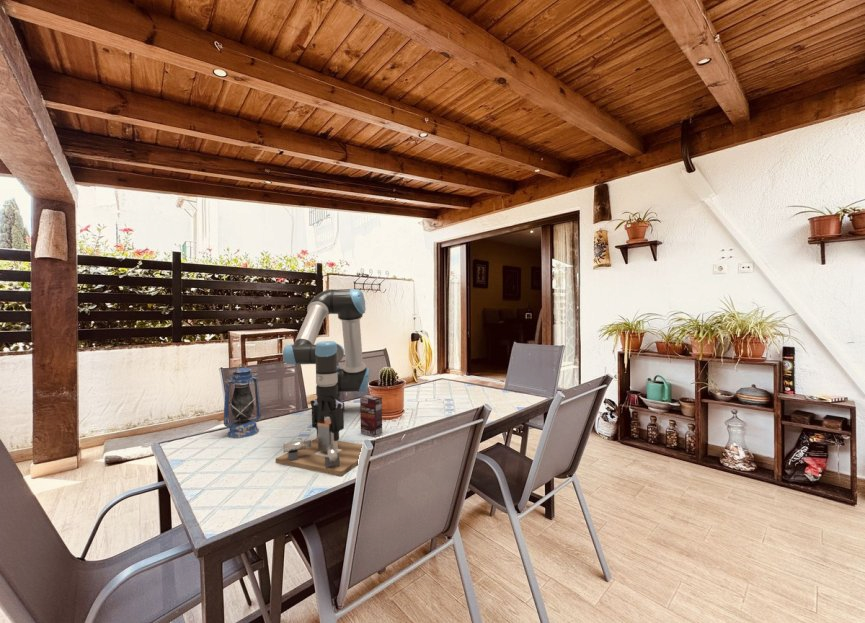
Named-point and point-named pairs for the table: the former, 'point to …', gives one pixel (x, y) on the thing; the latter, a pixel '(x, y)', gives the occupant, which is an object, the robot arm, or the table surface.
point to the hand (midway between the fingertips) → (328, 447)
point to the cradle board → (316, 458)
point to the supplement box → (371, 415)
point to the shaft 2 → (331, 457)
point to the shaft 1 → (296, 448)
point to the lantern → (242, 404)
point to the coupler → (324, 434)
